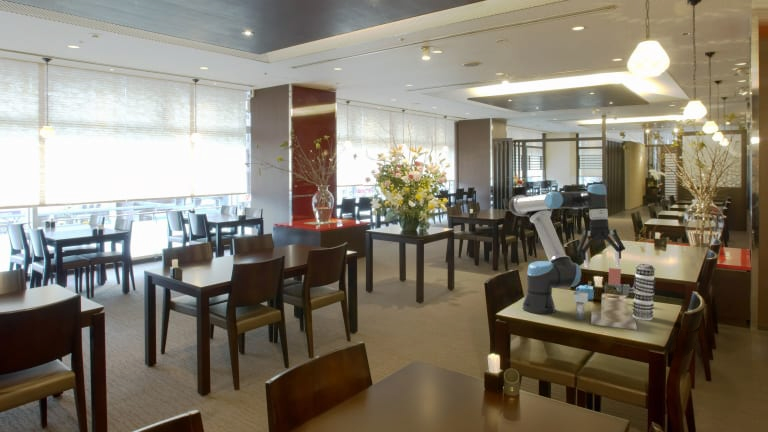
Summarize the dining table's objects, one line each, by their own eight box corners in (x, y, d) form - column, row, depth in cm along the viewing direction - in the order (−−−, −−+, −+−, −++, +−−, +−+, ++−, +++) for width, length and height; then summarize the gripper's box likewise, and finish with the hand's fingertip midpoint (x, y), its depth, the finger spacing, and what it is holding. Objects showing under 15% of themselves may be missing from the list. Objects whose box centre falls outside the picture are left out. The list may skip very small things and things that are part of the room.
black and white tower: (626, 315, 236) (629, 263, 233) (641, 313, 239) (644, 262, 237) (643, 321, 227) (646, 267, 225) (658, 319, 230) (661, 266, 228)
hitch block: (591, 324, 222) (593, 288, 221) (591, 314, 237) (593, 281, 235) (636, 329, 215) (638, 292, 214) (633, 319, 230) (635, 284, 228)
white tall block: (572, 320, 227) (573, 294, 226) (572, 317, 233) (574, 291, 232) (586, 322, 225) (587, 296, 224) (586, 318, 230) (588, 293, 229)
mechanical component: (636, 305, 254) (637, 286, 253) (615, 303, 256) (616, 284, 255) (635, 303, 257) (636, 284, 256) (613, 302, 259) (614, 283, 258)
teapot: (599, 299, 266) (600, 285, 265) (599, 301, 260) (600, 287, 259) (575, 296, 270) (576, 283, 270) (575, 299, 265) (576, 285, 264)
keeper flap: (609, 268, 231) (609, 268, 232) (608, 285, 231) (608, 285, 232) (621, 269, 229) (620, 268, 230) (620, 286, 229) (619, 286, 230)
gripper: (573, 219, 218) (576, 268, 216) (631, 217, 217) (634, 266, 216) (567, 220, 225) (570, 267, 224) (623, 218, 225) (626, 265, 223)
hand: (602, 267), depth 220 cm, fingers open, 13 cm apart
